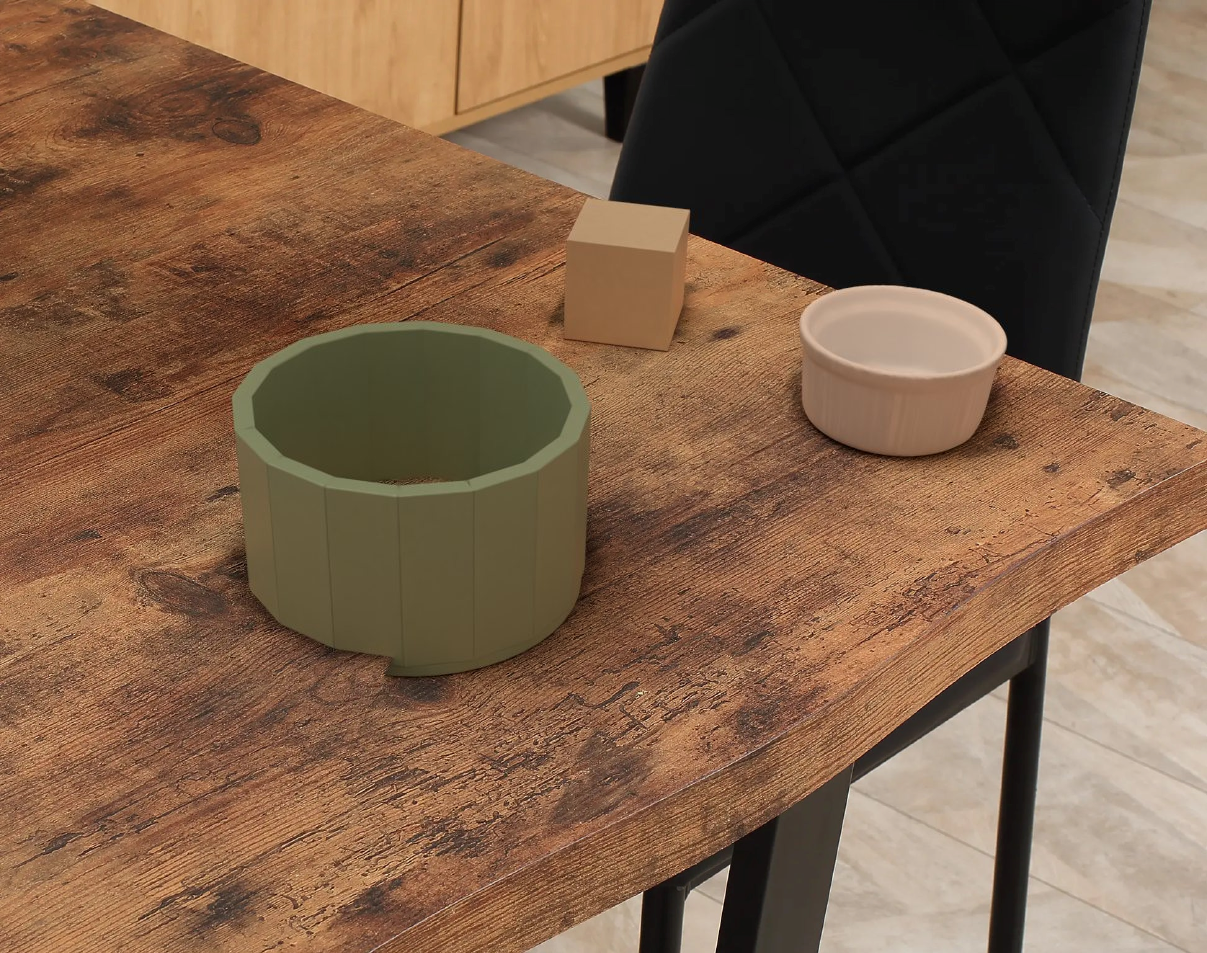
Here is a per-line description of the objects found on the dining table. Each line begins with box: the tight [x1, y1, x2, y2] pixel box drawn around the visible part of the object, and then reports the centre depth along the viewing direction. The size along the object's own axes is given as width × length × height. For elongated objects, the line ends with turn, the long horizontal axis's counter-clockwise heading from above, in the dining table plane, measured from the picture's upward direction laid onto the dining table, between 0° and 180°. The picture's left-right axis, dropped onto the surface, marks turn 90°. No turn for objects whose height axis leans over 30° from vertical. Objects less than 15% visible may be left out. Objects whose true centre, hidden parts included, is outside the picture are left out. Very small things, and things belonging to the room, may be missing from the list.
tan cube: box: [562, 198, 691, 352], centre depth 82 cm, size 5×5×5 cm
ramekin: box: [798, 284, 1008, 457], centre depth 75 cm, size 9×9×4 cm
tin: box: [231, 320, 593, 678], centre depth 63 cm, size 12×12×8 cm
